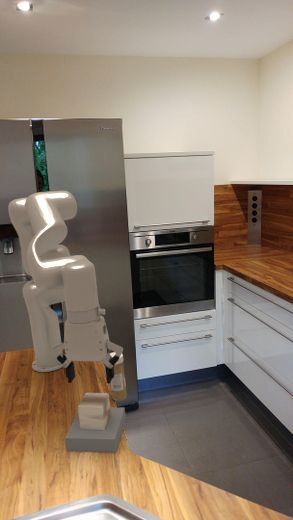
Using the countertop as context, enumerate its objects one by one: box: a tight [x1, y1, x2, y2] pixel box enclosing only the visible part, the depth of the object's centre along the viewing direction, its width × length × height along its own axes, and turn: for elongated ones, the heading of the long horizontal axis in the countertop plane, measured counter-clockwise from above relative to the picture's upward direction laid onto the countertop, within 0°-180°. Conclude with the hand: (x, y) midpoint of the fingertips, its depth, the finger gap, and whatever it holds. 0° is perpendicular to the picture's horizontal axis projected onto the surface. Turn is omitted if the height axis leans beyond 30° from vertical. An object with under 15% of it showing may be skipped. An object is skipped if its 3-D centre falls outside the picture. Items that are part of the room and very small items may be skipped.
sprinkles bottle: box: [109, 351, 128, 402], centre depth 103 cm, size 5×5×14 cm
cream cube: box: [77, 392, 111, 430], centre depth 88 cm, size 6×6×6 cm
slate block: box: [64, 406, 126, 454], centre depth 89 cm, size 12×12×4 cm
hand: (90, 380), depth 86 cm, fingers open, 9 cm apart
